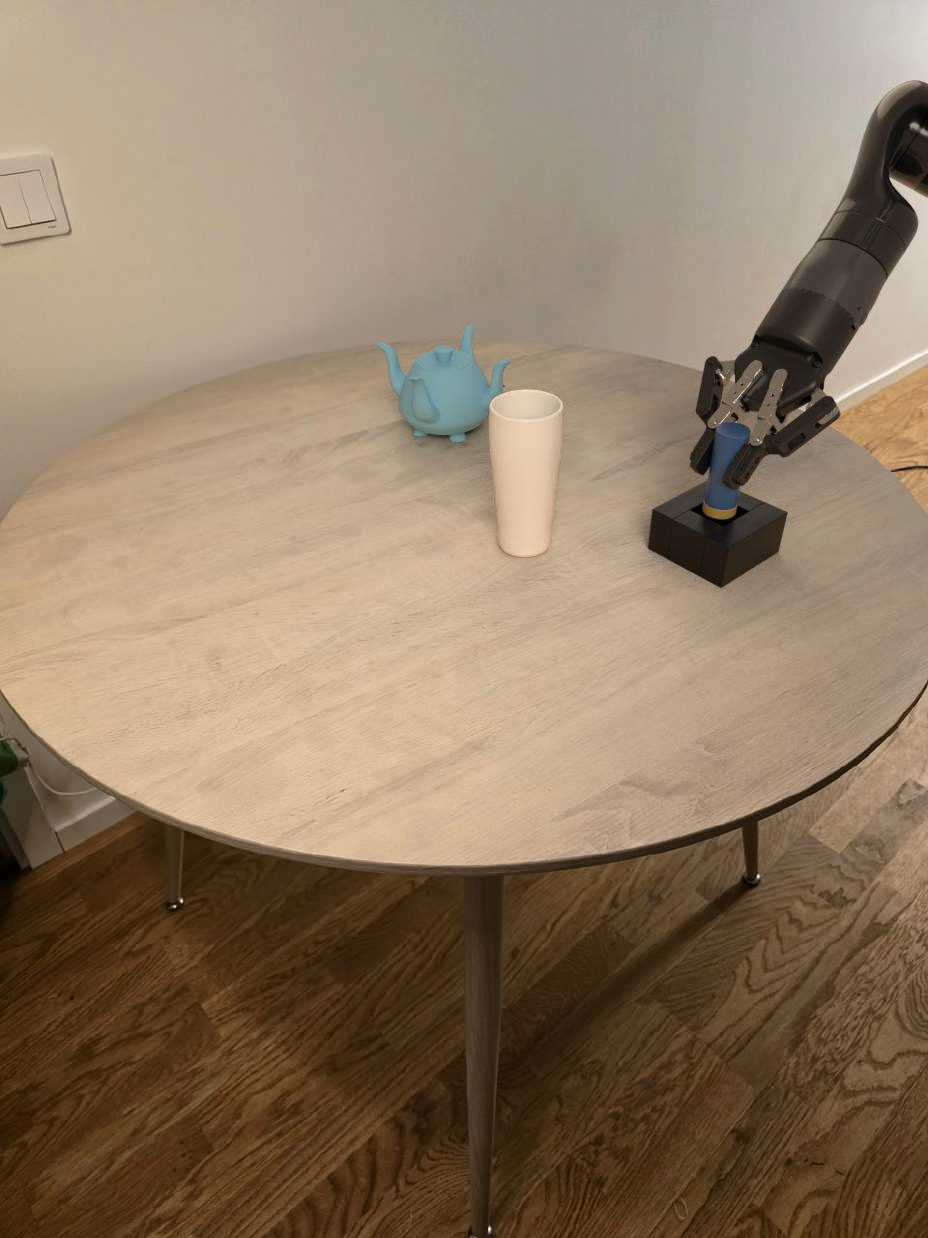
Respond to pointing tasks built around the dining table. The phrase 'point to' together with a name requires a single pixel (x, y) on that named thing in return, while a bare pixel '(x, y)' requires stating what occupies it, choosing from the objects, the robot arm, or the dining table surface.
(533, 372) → the dining table surface
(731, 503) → the handle
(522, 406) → the drinking glass
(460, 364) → the teapot
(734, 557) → the holder
